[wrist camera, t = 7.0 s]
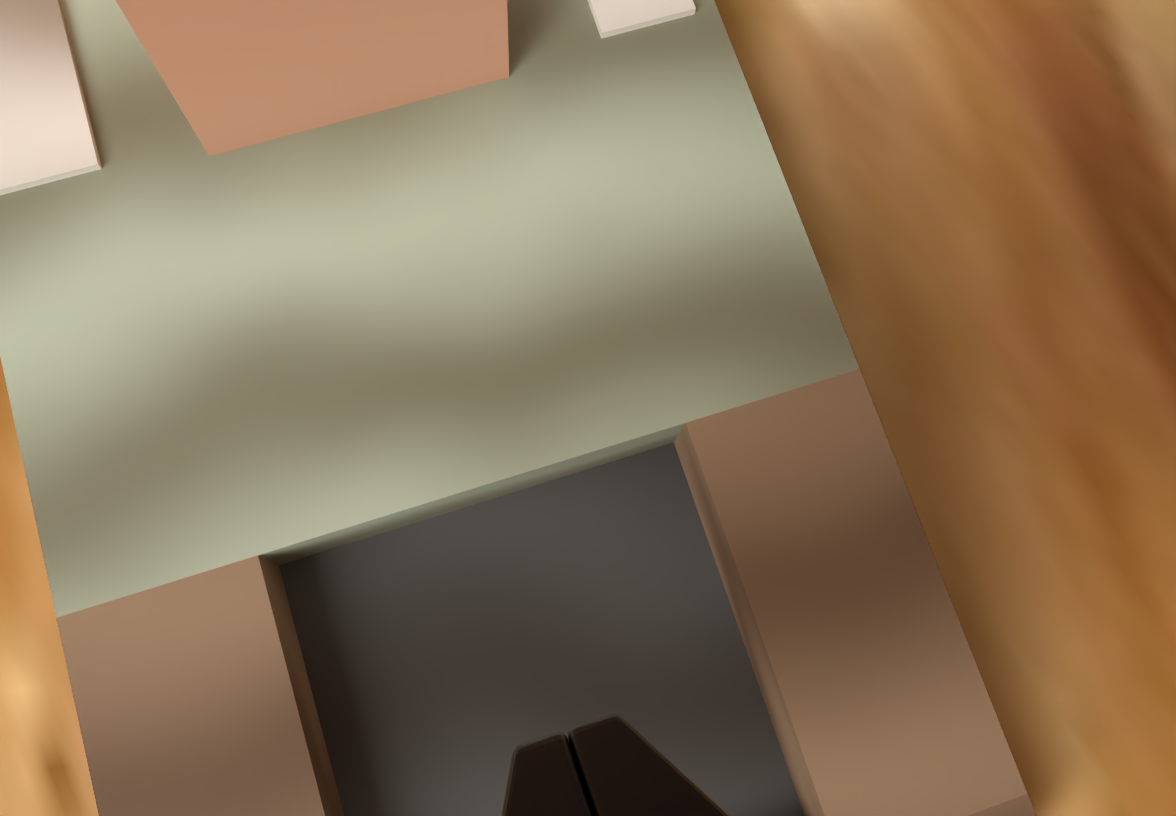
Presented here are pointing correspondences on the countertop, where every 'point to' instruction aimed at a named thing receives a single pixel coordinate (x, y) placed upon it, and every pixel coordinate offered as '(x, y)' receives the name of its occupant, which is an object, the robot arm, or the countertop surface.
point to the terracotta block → (313, 59)
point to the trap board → (462, 441)
